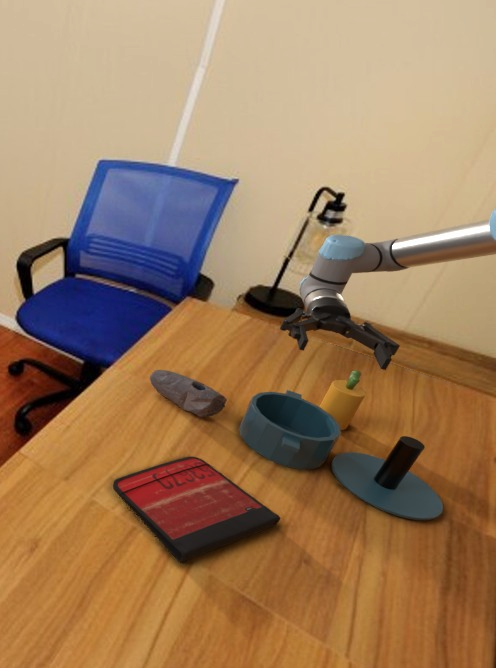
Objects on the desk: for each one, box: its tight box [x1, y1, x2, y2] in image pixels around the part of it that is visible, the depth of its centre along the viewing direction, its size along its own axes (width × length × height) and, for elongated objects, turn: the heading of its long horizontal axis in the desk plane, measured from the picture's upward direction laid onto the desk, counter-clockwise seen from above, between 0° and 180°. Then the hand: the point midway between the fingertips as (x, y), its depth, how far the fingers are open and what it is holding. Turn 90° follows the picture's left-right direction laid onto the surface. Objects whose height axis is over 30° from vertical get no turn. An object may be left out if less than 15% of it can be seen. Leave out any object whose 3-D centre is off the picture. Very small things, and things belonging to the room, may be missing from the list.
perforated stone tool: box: [149, 369, 228, 418], centre depth 111 cm, size 15×5×7 cm, turn 29°
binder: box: [112, 456, 281, 563], centre depth 88 cm, size 16×2×21 cm
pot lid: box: [330, 435, 444, 521], centre depth 89 cm, size 15×15×11 cm
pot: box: [238, 389, 342, 471], centre depth 100 cm, size 14×19×8 cm
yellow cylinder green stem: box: [318, 370, 367, 431], centre depth 103 cm, size 5×5×13 cm
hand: (343, 354), depth 109 cm, fingers open, 13 cm apart
